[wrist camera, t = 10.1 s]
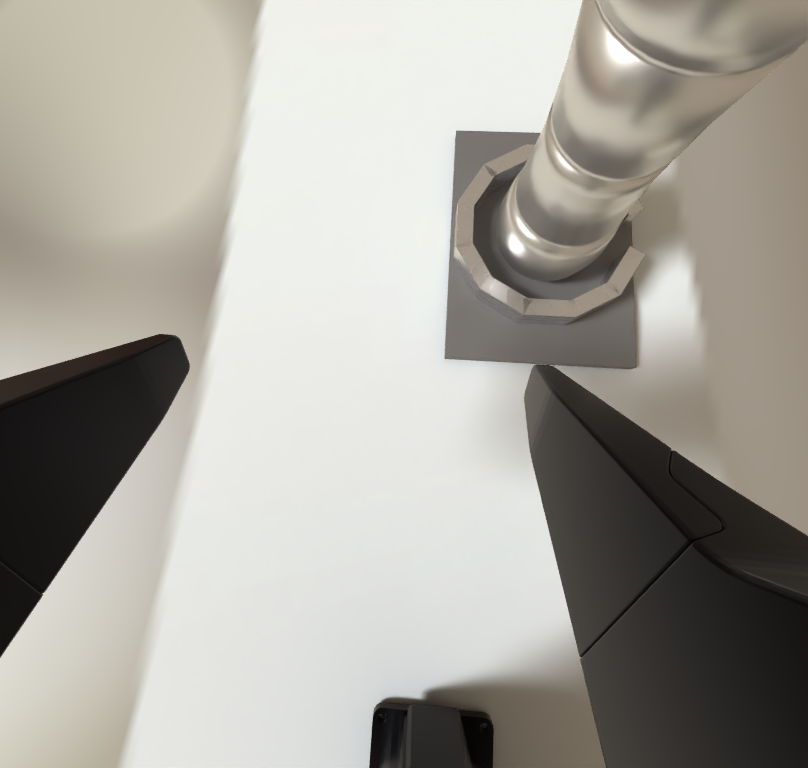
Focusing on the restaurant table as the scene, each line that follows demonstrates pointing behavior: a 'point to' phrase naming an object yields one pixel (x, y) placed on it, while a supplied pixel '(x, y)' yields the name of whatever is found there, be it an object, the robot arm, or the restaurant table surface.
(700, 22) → the plastic bottle
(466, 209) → the split ring
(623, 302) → the ring mat
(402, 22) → the restaurant table surface
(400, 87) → the restaurant table surface
